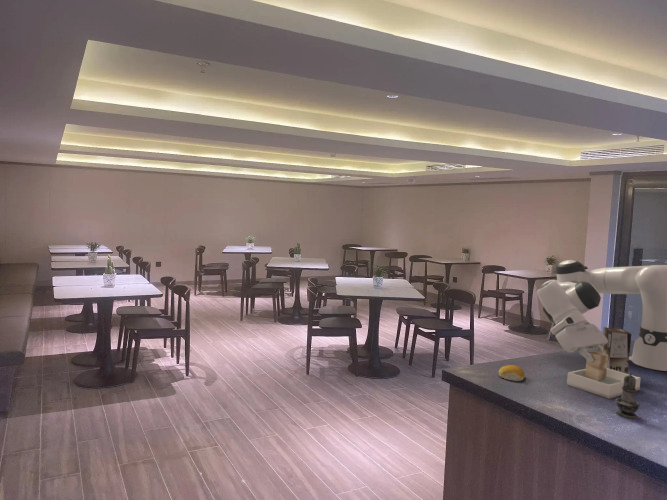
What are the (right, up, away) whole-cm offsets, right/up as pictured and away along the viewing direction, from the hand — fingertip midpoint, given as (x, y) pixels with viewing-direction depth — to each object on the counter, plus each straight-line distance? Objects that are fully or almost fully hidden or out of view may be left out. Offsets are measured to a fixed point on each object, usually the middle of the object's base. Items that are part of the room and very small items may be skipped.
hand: (598, 360), depth 155 cm
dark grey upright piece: (-3, -11, -20) cm, 23 cm away
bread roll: (-24, -8, +9) cm, 27 cm away
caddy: (+3, -9, +3) cm, 10 cm away
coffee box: (+15, -9, +18) cm, 25 cm away
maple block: (-1, -6, +1) cm, 6 cm away
